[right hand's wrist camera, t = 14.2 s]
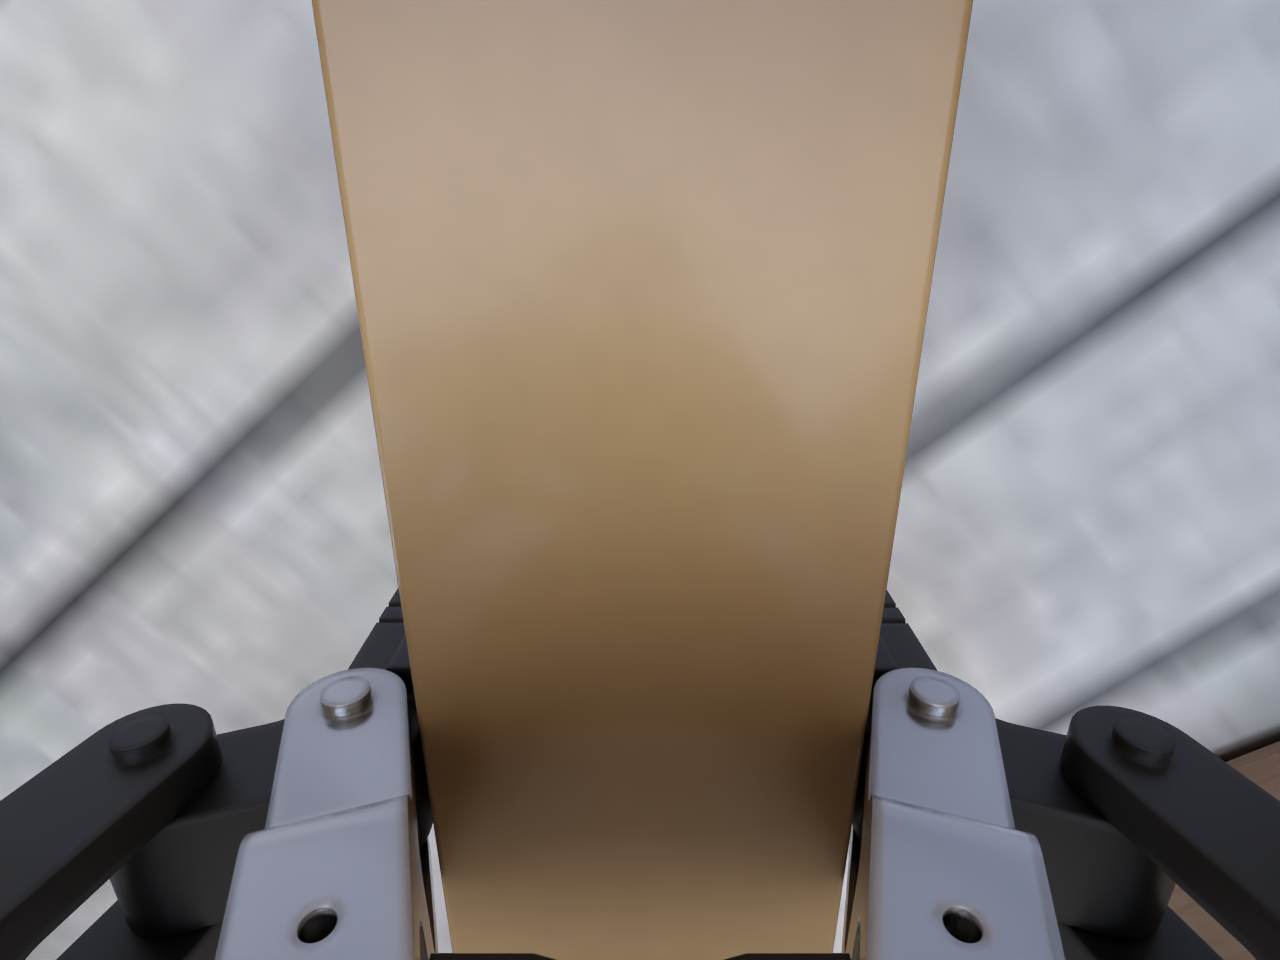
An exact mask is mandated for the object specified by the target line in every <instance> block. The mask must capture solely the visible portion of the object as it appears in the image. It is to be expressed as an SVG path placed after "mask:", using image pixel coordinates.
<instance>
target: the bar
mask: <svg viewBox="0 0 1280 960" xmlns="http://www.w3.org/2000/svg"><path fill="white" fill-rule="evenodd" d="M972 4H973V0H312V6H313V13H314V19H315V26H316V33H317V40H318V46H319V53H320V60H321V67H322V73H323V80H324V87H325V94H326V100H327V107H328V114H329V121H330V127H331V134H332V141H333V148H334V155H335V161H336V168H337V175H338V182H339V188H340V195H341V202H342V209H343V215H344V222H345V229H346V236H347V242H348V249H349V256H350V263H351V269H352V276H353V283H354V290H355V296H356V303H357V310H358V317H359V323H360V330H361V337H362V344H363V351H364V357H365V364H366V371H367V378H368V384H369V391H370V398H371V405H372V411H373V418H374V425H375V432H376V438H377V445H378V452H379V459H380V465H381V472H382V479H383V486H384V492H385V499H386V506H387V513H388V520H389V526H390V533H391V540H392V547H393V553H394V560H395V567H396V574H397V580H398V587H399V594H400V601H401V607H402V614H403V621H404V628H405V634H406V641H407V648H408V655H409V661H410V668H411V675H412V682H413V688H414V695H415V702H416V709H417V716H418V722H419V729H420V736H421V743H422V749H423V756H424V763H425V770H426V776H427V783H428V790H429V797H430V803H431V810H432V817H433V824H434V830H435V837H436V844H437V851H438V857H439V864H440V871H441V878H442V885H443V891H444V898H445V905H446V912H447V918H448V925H449V932H450V939H451V945H452V952H453V953H534V954H538V955H541V956H545V957H549V958H552V959H556V960H724V959H728V958H731V957H735V956H739V955H742V954H746V953H833V947H834V941H835V934H836V927H837V920H838V914H839V907H840V900H841V893H842V886H843V880H844V873H845V866H846V859H847V852H848V846H849V839H850V832H851V825H852V819H853V812H854V805H855V798H856V791H857V785H858V778H859V771H860V764H861V757H862V751H863V744H864V737H865V730H866V724H867V717H868V710H869V703H870V696H871V690H872V683H873V676H874V669H875V662H876V656H877V649H878V642H879V635H880V629H881V622H882V615H883V608H884V601H885V595H886V588H887V581H888V574H889V567H890V561H891V554H892V547H893V540H894V534H895V527H896V520H897V513H898V506H899V500H900V493H901V486H902V479H903V472H904V466H905V459H906V452H907V445H908V439H909V432H910V425H911V418H912V411H913V405H914V398H915V391H916V384H917V377H918V371H919V364H920V357H921V350H922V343H923V337H924V330H925V323H926V316H927V310H928V303H929V296H930V289H931V282H932V276H933V269H934V262H935V255H936V248H937V242H938V235H939V228H940V221H941V215H942V208H943V201H944V194H945V187H946V181H947V174H948V167H949V160H950V153H951V147H952V140H953V133H954V126H955V120H956V113H957V106H958V99H959V92H960V86H961V79H962V72H963V65H964V58H965V52H966V45H967V38H968V31H969V25H970V18H971V11H972Z"/></svg>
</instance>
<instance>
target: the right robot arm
mask: <svg viewBox="0 0 1280 960" xmlns="http://www.w3.org/2000/svg"><path fill="white" fill-rule="evenodd" d="M432 824H433V817H432V810H431V803H430V797H429V790H428V783H427V776H426V770H425V763H424V756H423V749H422V743H421V736H420V729H419V722H418V716H417V709H416V702H415V695H414V688H413V682H412V675H411V668H410V661H409V655H408V648H407V641H406V634H405V628H404V621H403V614H402V607H401V601H400V594H399V588H398V589H397V591H396V592H395V594H394V596H393V597H392V599H391V601H390V602H389V607H386V609H385V610H384V612H383V613H382V615H381V617H380V618H379V623H376V625H375V626H374V628H373V630H372V631H371V633H370V635H369V636H368V638H367V639H366V641H365V643H364V644H363V646H362V648H361V649H360V651H359V652H358V654H357V656H356V657H355V659H354V661H353V662H352V664H351V665H350V667H349V669H348V670H345V671H341V672H337V673H334V674H331V675H329V676H326V677H324V678H322V679H320V680H318V681H316V682H314V683H312V684H311V685H309V686H308V687H307V688H305V689H304V690H303V691H301V692H300V693H299V694H298V695H297V696H296V697H295V698H294V700H293V701H292V702H291V704H290V705H289V707H288V709H287V712H286V716H285V719H284V720H281V721H277V722H273V723H269V724H265V725H261V726H256V727H251V728H247V729H242V730H237V731H233V732H228V733H223V734H219V735H216V732H215V728H214V725H213V721H212V718H211V716H210V714H209V713H208V712H207V711H206V710H204V709H203V708H201V707H198V706H195V705H190V704H168V705H161V706H156V707H151V708H148V709H144V710H141V711H138V712H135V713H132V714H130V715H127V716H125V717H123V718H121V719H118V720H116V721H114V722H113V723H111V724H109V725H107V726H105V727H104V728H102V729H101V730H99V731H98V732H96V733H95V734H93V735H92V736H90V737H89V738H88V739H86V740H85V741H83V742H82V743H81V744H79V745H78V746H76V747H75V748H74V749H72V750H71V751H69V752H68V753H67V754H65V755H64V756H62V757H61V758H60V759H58V760H57V761H55V762H54V763H53V764H51V765H50V766H49V767H47V768H46V769H44V770H43V771H42V772H40V773H39V774H37V775H36V776H35V777H33V778H32V779H30V780H29V781H28V782H26V783H25V784H23V785H22V786H21V787H19V788H18V789H16V790H15V791H14V792H12V793H11V794H9V795H8V796H7V797H5V798H4V799H2V800H1V801H0V960H25V959H26V958H27V957H28V955H29V954H30V953H31V952H32V951H33V950H34V949H35V948H36V947H37V945H38V944H39V943H41V942H42V941H43V940H44V939H45V938H46V937H47V936H48V935H49V934H50V933H51V932H52V931H53V930H55V929H56V928H57V927H58V926H59V925H60V924H61V923H62V922H63V921H64V920H65V919H66V918H67V917H69V916H70V915H71V914H72V913H73V912H74V911H75V910H76V909H77V908H78V907H79V906H80V905H81V904H83V903H84V902H85V901H86V900H87V899H88V898H89V897H90V896H91V895H92V894H93V893H94V892H95V891H96V890H98V889H99V888H100V887H101V886H102V885H103V884H104V883H105V882H106V881H107V880H108V879H109V878H110V881H111V883H112V886H113V888H114V891H115V893H116V896H117V899H118V900H117V901H116V902H115V903H114V904H113V905H112V906H111V907H110V908H109V909H108V910H107V911H106V912H105V913H104V914H103V915H102V916H101V917H100V918H99V919H98V920H97V921H96V922H95V923H94V924H93V925H92V926H91V927H90V928H88V929H87V930H86V931H85V932H84V933H83V934H82V935H81V936H80V937H79V938H78V939H77V940H76V941H75V942H74V943H73V944H72V945H71V946H70V947H69V948H68V949H67V950H66V951H65V952H64V953H63V954H62V955H61V956H60V957H59V958H58V959H57V960H556V959H552V958H549V957H545V956H541V955H538V954H534V953H438V942H437V929H436V916H435V903H434V890H433V877H432V864H431V851H430V845H429V838H428V835H429V833H430V830H431V827H432ZM852 824H853V831H852V838H851V845H850V851H849V864H848V877H847V890H846V903H845V916H844V929H843V942H842V953H746V954H742V955H739V956H735V957H731V958H728V959H724V960H1223V959H1222V958H1221V957H1220V956H1219V955H1218V954H1217V953H1216V952H1215V951H1214V950H1213V949H1212V948H1211V947H1210V946H1209V945H1208V944H1207V943H1206V942H1205V941H1204V940H1203V939H1202V938H1201V937H1200V936H1199V935H1198V934H1197V933H1196V932H1195V931H1194V930H1193V929H1192V928H1190V927H1189V926H1188V925H1187V924H1186V923H1185V922H1184V921H1183V920H1182V919H1181V918H1180V917H1179V916H1178V915H1177V914H1176V913H1175V912H1174V911H1173V910H1172V909H1171V908H1170V907H1169V906H1168V903H1169V900H1170V898H1171V895H1172V893H1173V890H1174V888H1175V885H1176V884H1177V885H1178V886H1179V887H1180V888H1181V889H1182V890H1184V891H1185V892H1186V893H1187V894H1188V895H1189V896H1190V897H1191V898H1192V899H1193V900H1194V901H1195V902H1196V903H1198V904H1199V905H1200V906H1201V907H1202V908H1203V909H1204V910H1205V911H1206V912H1207V913H1208V914H1209V915H1210V916H1212V917H1213V918H1214V919H1215V920H1216V921H1217V922H1218V923H1219V924H1220V925H1221V926H1222V927H1223V928H1224V929H1225V930H1227V931H1228V932H1229V933H1230V934H1231V935H1232V936H1233V937H1234V938H1235V939H1236V940H1237V941H1238V942H1239V943H1241V944H1242V945H1243V946H1244V947H1245V948H1246V949H1247V950H1248V951H1249V952H1250V953H1251V954H1252V955H1253V957H1254V958H1255V959H1256V960H1280V801H1279V800H1278V799H1276V798H1275V797H1273V796H1272V795H1271V794H1269V793H1268V792H1266V791H1265V790H1264V789H1262V788H1261V787H1259V786H1258V785H1257V784H1255V783H1254V782H1252V781H1251V780H1250V779H1248V778H1247V777H1245V776H1244V775H1243V774H1241V773H1240V772H1238V771H1237V770H1236V769H1234V768H1233V767H1232V766H1230V765H1229V764H1227V763H1226V762H1225V761H1223V760H1222V759H1220V758H1219V757H1218V756H1216V755H1215V754H1213V753H1212V752H1211V751H1209V750H1208V749H1206V748H1205V747H1204V746H1202V745H1201V744H1199V743H1198V742H1197V741H1195V740H1194V739H1192V738H1191V737H1190V736H1188V735H1187V734H1185V733H1184V732H1182V731H1181V730H1179V729H1178V728H1176V727H1174V726H1172V725H1170V724H1168V723H1167V722H1164V721H1162V720H1160V719H1158V718H1156V717H1153V716H1150V715H1148V714H1145V713H1142V712H1138V711H1135V710H1131V709H1127V708H1122V707H1115V706H1093V707H1088V708H1085V709H1082V710H1080V711H1078V712H1077V713H1076V714H1075V715H1074V716H1073V717H1072V720H1071V722H1070V725H1069V729H1068V733H1067V736H1066V735H1062V734H1057V733H1052V732H1048V731H1043V730H1039V729H1034V728H1029V727H1025V726H1020V725H1016V724H1012V723H1008V722H1005V721H1002V720H999V719H996V718H995V716H994V712H993V709H992V707H991V705H990V704H989V702H988V701H987V700H986V698H985V697H984V696H983V695H982V694H981V693H980V692H979V691H977V690H976V689H975V688H973V687H972V686H971V685H969V684H968V683H966V682H964V681H962V680H960V679H958V678H956V677H954V676H951V675H949V674H946V673H943V672H939V671H937V669H936V668H935V666H934V665H933V663H932V661H931V660H930V658H929V657H928V655H927V653H926V652H925V650H924V649H923V647H922V645H921V644H920V642H919V641H918V639H917V637H916V636H915V634H914V633H913V631H912V629H911V628H910V626H909V625H908V624H906V623H905V618H904V617H903V615H902V613H901V612H900V610H899V609H898V608H896V606H895V602H894V601H893V599H892V598H891V596H890V594H889V593H888V591H887V590H886V595H885V601H884V608H883V615H882V622H881V629H880V635H879V642H878V649H877V656H876V662H875V669H874V676H873V683H872V690H871V696H870V703H869V710H868V717H867V724H866V730H865V737H864V744H863V751H862V757H861V764H860V771H859V778H858V785H857V791H856V798H855V805H854V812H853V819H852Z"/></svg>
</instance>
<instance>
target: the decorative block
mask: <svg viewBox="0 0 1280 960" xmlns="http://www.w3.org/2000/svg"><path fill="white" fill-rule="evenodd" d="M1226 763H1227V764H1229V765H1230V766H1232V767H1233V768H1234V769H1236V770H1237V771H1238V772H1240V773H1241V774H1243V775H1244V776H1245V777H1247V778H1248V779H1250V780H1251V781H1252V782H1254V783H1255V784H1257V785H1258V786H1259V787H1261V788H1262V789H1264V790H1265V791H1266V792H1268V793H1269V794H1271V795H1272V796H1273V797H1275V798H1276V799H1278V800H1279V801H1280V741H1279V742H1276V743H1273V744H1271V745H1268V746H1266V747H1263V748H1261V749H1258V750H1255V751H1253V752H1250V753H1248V754H1245V755H1243V756H1240V757H1237V758H1235V759H1232V760H1230V761H1227V762H1226ZM1168 906H1169V907H1170V908H1171V909H1172V910H1173V911H1174V912H1175V913H1176V914H1177V915H1178V916H1179V917H1180V918H1181V919H1182V920H1183V921H1184V922H1185V923H1186V924H1187V925H1188V926H1189V927H1190V928H1192V929H1193V930H1194V931H1195V932H1196V933H1197V934H1198V935H1199V936H1200V937H1201V938H1202V939H1203V940H1204V941H1205V942H1206V943H1207V944H1208V945H1209V946H1210V947H1211V948H1212V949H1213V950H1214V951H1215V952H1216V953H1217V954H1218V955H1219V956H1220V957H1221V958H1222V959H1223V960H1256V959H1255V958H1254V957H1253V955H1252V954H1251V953H1250V952H1249V951H1248V950H1247V949H1246V948H1245V947H1244V946H1243V945H1242V944H1241V943H1239V942H1238V941H1237V940H1236V939H1235V938H1234V937H1233V936H1232V935H1231V934H1230V933H1229V932H1228V931H1227V930H1225V929H1224V928H1223V927H1222V926H1221V925H1220V924H1219V923H1218V922H1217V921H1216V920H1215V919H1214V918H1213V917H1212V916H1210V915H1209V914H1208V913H1207V912H1206V911H1205V910H1204V909H1203V908H1202V907H1201V906H1200V905H1199V904H1198V903H1196V902H1195V901H1194V900H1193V899H1192V898H1191V897H1190V896H1189V895H1188V894H1187V893H1186V892H1185V891H1184V890H1182V889H1181V888H1180V887H1179V886H1178V885H1177V884H1176V885H1175V888H1174V890H1173V893H1172V895H1171V898H1170V900H1169V903H1168Z"/></svg>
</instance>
